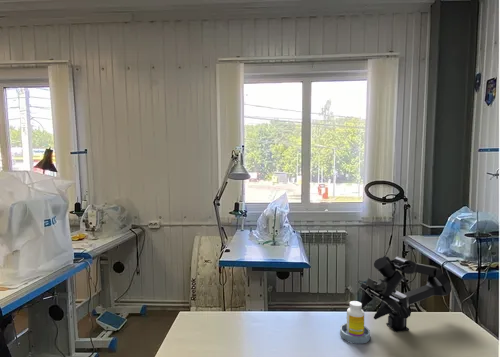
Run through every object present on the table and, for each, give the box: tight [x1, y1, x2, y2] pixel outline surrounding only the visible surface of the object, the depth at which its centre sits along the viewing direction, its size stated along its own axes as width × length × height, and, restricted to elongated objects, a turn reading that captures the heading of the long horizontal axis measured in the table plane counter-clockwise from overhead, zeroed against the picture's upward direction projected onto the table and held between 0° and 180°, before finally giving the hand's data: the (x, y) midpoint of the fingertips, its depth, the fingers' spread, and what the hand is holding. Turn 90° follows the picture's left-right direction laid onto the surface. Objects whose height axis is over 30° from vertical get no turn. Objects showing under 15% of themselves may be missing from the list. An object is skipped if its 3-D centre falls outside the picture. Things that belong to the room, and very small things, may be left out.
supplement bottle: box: [346, 300, 365, 337], centre depth 131 cm, size 7×7×13 cm
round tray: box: [339, 322, 371, 345], centre depth 131 cm, size 11×11×2 cm
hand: (366, 313), depth 132 cm, fingers open, 9 cm apart
